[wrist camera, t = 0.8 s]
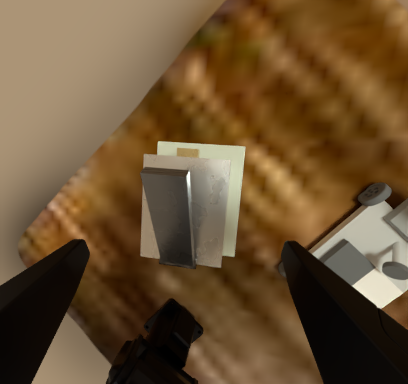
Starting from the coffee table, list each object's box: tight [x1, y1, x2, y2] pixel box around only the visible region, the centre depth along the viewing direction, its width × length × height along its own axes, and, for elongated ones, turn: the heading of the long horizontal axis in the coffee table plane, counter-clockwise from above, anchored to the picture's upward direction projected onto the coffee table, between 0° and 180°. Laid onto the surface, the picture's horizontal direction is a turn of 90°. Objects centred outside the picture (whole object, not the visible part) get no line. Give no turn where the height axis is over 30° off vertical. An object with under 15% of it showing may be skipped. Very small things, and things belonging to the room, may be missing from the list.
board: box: [157, 141, 245, 257], centre depth 25 cm, size 14×11×1 cm
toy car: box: [278, 183, 408, 309], centre depth 19 cm, size 18×10×12 cm
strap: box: [140, 167, 197, 269], centre depth 16 cm, size 10×3×1 cm, turn 177°
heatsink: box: [140, 148, 231, 268], centre depth 22 cm, size 11×8×7 cm
